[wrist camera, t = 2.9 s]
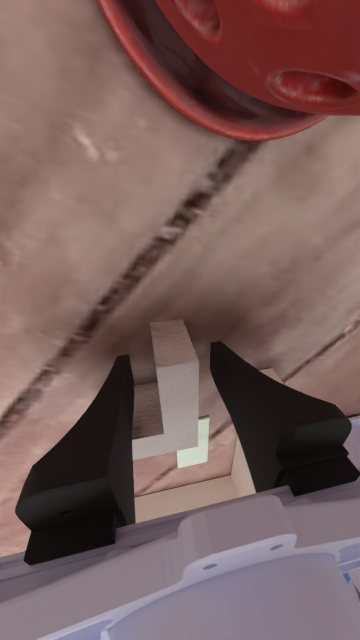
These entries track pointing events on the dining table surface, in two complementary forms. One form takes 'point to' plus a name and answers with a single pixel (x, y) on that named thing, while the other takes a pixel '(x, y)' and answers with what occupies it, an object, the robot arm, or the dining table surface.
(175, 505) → the corner wall
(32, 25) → the dining table surface
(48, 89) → the dining table surface
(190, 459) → the mat
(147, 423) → the bracket
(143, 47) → the plant pot
